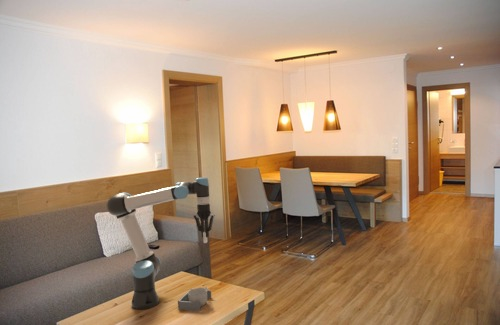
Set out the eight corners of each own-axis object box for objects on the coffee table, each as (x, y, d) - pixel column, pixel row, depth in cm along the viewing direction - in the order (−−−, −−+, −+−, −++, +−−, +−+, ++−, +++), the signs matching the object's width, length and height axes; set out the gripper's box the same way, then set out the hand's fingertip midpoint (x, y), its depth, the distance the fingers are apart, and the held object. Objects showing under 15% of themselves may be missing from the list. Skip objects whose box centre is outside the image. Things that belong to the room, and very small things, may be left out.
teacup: (197, 310, 220) (196, 296, 220) (184, 305, 227) (183, 291, 227) (215, 301, 231) (215, 287, 230) (202, 297, 238) (201, 284, 237)
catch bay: (178, 309, 223) (177, 301, 223) (191, 296, 240) (190, 289, 240) (200, 310, 220) (199, 302, 219) (211, 297, 237) (211, 290, 236)
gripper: (190, 204, 240) (193, 243, 242) (211, 204, 236) (213, 244, 238) (195, 202, 247) (197, 240, 249) (215, 202, 244) (217, 241, 245)
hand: (205, 242), depth 244 cm, fingers closed
